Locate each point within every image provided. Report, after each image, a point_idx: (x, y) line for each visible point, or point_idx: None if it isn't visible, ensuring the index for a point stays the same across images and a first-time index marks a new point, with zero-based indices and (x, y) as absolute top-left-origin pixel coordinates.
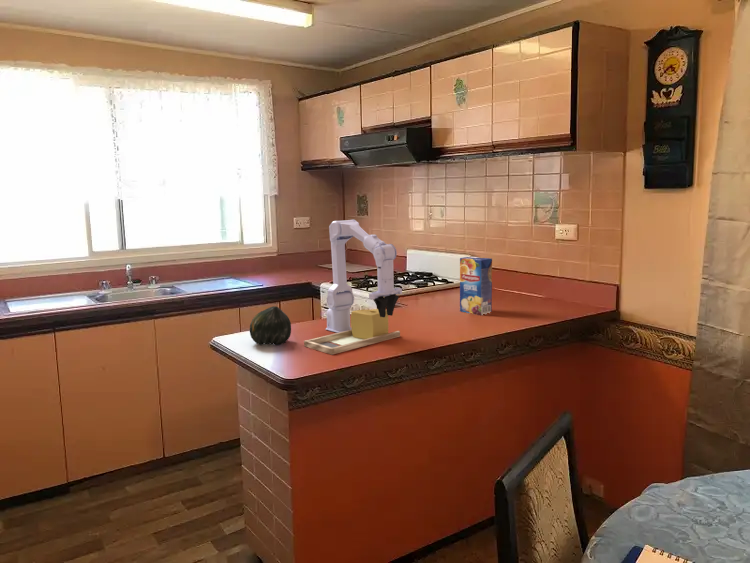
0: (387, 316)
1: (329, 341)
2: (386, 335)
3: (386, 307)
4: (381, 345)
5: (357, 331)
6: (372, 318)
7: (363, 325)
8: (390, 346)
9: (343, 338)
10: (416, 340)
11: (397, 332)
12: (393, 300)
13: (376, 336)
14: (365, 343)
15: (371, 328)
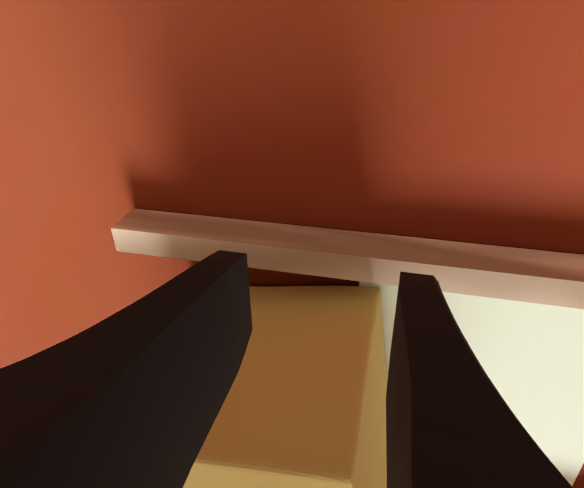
0: None
1: (572, 484)
2: (265, 242)
3: (201, 446)
4: (432, 149)
5: (385, 437)
6: (354, 440)
7: (375, 444)
8: (408, 56)
9: None
10: (92, 15)
11: (141, 228)
12: (12, 481)
13: (362, 277)
14: (532, 259)
15: (370, 362)
